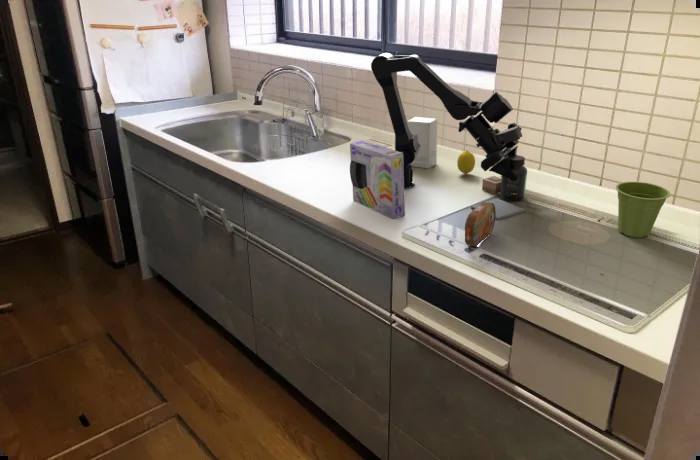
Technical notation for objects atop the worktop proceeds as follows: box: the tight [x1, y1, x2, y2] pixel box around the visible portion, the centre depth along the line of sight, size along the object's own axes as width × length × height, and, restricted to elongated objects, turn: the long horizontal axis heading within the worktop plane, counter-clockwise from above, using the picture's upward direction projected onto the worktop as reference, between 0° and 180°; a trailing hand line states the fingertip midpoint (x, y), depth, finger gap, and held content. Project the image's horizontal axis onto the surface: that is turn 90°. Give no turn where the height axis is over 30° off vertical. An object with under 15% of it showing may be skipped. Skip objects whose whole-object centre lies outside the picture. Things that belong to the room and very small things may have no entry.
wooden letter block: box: [481, 175, 501, 195], centre depth 173 cm, size 5×5×4 cm
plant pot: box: [615, 181, 671, 239], centre depth 142 cm, size 12×12×11 cm
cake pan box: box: [349, 139, 406, 219], centre depth 159 cm, size 19×5×18 cm, turn 36°
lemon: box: [456, 149, 476, 176], centre depth 186 cm, size 6×6×8 cm
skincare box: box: [407, 116, 438, 170], centre depth 194 cm, size 8×7×16 cm
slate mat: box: [470, 198, 525, 220], centre depth 160 cm, size 10×10×1 cm
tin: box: [464, 201, 496, 248], centre depth 141 cm, size 15×3×8 cm, turn 148°
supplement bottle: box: [499, 154, 528, 203], centre depth 165 cm, size 7×7×12 cm
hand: (519, 176), depth 165 cm, fingers closed on supplement bottle, 7 cm apart
